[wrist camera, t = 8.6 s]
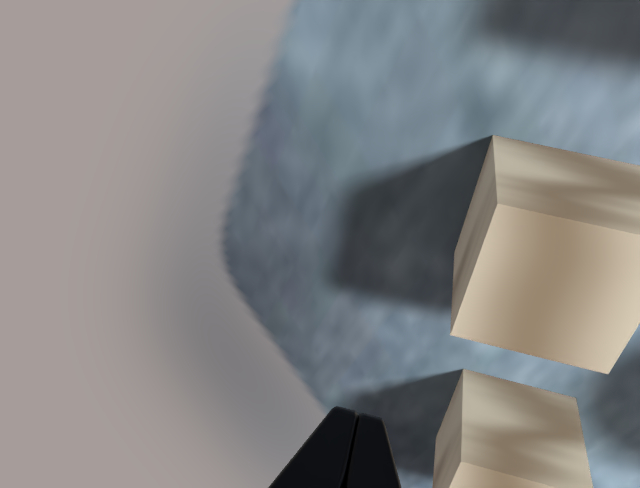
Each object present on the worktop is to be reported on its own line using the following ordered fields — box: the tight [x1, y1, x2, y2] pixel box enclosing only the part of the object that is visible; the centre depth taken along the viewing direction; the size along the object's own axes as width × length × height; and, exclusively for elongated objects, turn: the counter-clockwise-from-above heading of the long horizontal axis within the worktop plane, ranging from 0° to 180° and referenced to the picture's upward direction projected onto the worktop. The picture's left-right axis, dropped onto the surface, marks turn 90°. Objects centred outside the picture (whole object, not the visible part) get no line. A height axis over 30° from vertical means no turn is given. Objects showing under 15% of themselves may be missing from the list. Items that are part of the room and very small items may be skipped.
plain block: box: [450, 135, 640, 374], centre depth 19 cm, size 5×5×5 cm
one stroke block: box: [433, 369, 593, 488], centre depth 25 cm, size 5×5×5 cm
